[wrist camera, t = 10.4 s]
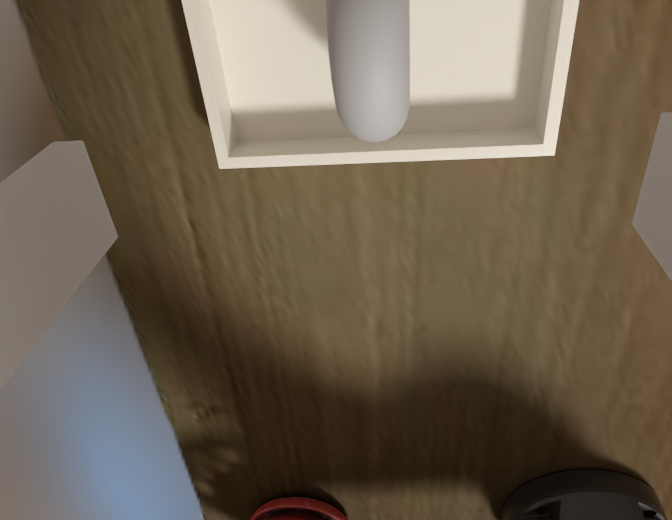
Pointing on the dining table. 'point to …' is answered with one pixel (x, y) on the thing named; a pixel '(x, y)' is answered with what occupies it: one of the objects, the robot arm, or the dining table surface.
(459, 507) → the dining table surface
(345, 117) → the grey curved piece
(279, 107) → the tray
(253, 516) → the plant pot
